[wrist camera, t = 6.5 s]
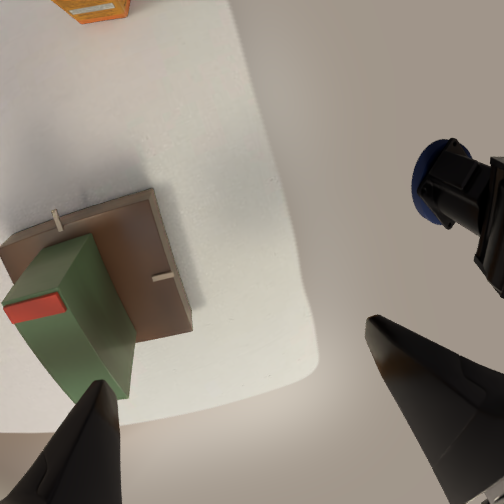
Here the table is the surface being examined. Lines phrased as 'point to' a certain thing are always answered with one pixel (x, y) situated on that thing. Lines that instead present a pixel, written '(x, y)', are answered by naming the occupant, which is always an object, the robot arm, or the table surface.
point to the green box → (74, 318)
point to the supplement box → (94, 9)
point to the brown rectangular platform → (119, 259)
